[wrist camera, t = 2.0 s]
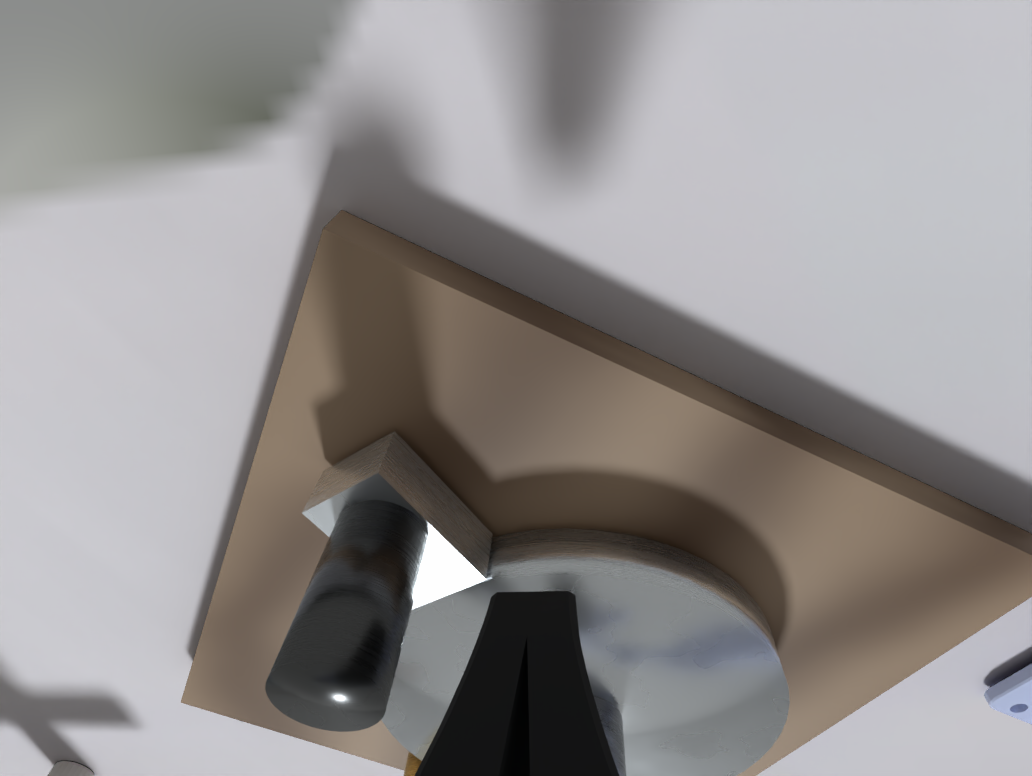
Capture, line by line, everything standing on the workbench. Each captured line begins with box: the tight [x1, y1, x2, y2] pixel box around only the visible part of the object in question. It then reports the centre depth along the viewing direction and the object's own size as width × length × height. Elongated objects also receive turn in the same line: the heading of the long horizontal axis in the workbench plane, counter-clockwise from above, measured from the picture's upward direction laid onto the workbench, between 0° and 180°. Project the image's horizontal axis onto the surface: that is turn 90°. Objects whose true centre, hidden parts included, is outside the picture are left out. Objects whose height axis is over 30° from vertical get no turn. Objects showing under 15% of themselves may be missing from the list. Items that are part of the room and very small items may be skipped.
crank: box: [265, 431, 790, 776], centre depth 16 cm, size 16×12×6 cm
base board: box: [181, 210, 1032, 776], centre depth 20 cm, size 20×20×1 cm
